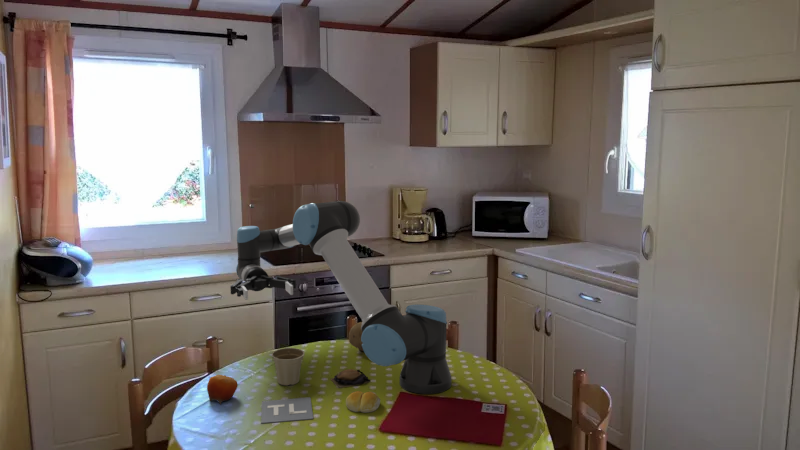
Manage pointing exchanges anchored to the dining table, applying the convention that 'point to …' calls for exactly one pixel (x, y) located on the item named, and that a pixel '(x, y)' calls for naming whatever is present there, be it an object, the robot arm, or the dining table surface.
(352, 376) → the abalone
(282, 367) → the flower pot
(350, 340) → the potato
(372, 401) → the bread roll
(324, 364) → the dining table surface
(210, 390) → the fruit
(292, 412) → the tile
